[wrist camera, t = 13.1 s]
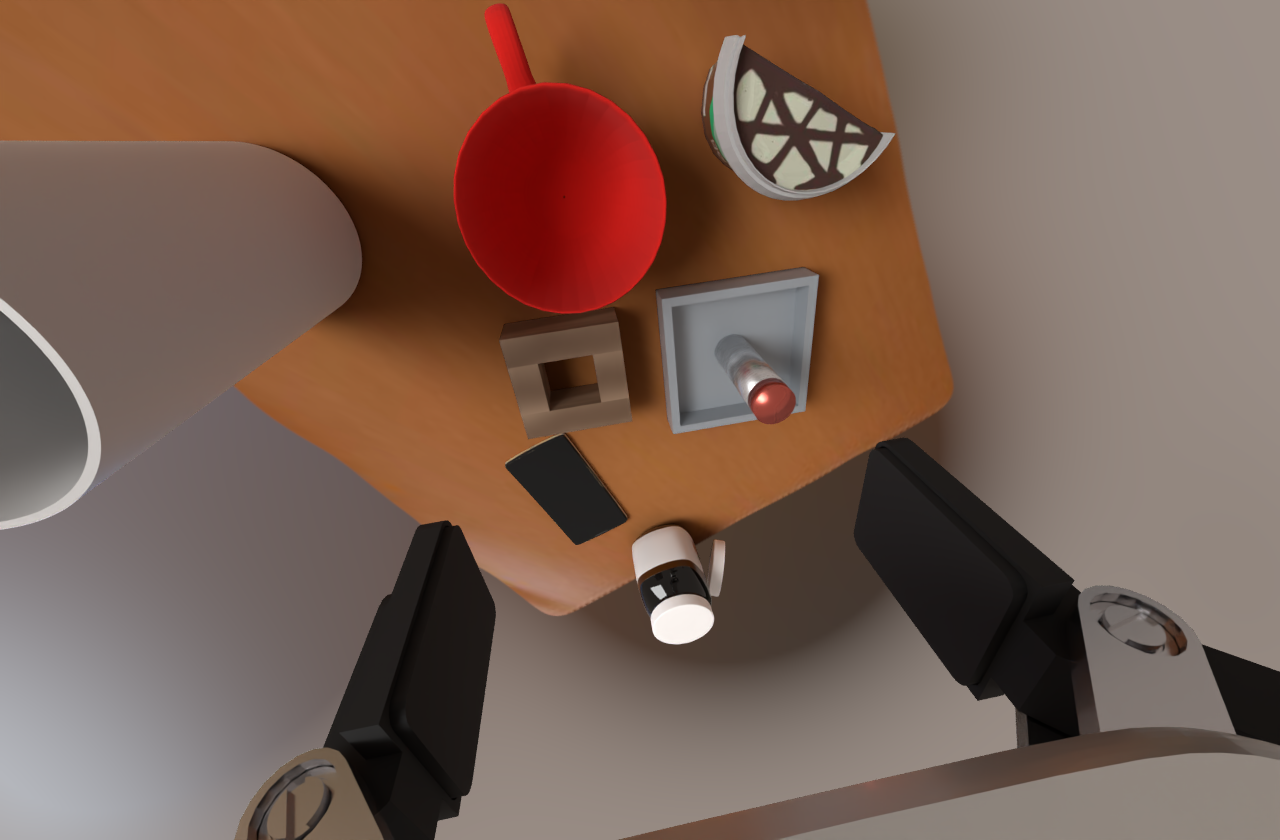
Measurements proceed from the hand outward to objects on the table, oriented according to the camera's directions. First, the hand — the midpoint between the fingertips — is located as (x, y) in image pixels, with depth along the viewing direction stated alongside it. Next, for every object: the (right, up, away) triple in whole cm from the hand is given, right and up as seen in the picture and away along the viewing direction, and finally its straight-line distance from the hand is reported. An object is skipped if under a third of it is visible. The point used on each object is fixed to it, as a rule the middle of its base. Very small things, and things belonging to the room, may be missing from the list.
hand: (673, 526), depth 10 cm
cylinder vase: (-29, +17, +25) cm, 41 cm away
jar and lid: (+4, -14, +49) cm, 51 cm away
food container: (+7, +25, +26) cm, 36 cm away
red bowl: (-7, +22, +25) cm, 34 cm away
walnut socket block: (-8, +8, +33) cm, 35 cm away
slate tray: (+8, +10, +35) cm, 37 cm away
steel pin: (+8, +9, +34) cm, 37 cm away
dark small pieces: (-9, -5, +42) cm, 43 cm away
